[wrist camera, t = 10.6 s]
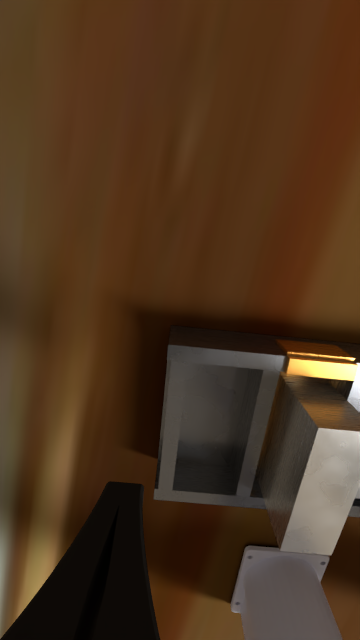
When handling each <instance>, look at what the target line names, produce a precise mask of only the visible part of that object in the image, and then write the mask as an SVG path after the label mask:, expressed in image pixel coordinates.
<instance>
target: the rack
mask: <svg viewBox="0 0 360 640" xmlns="http://www.w3.org/2000/svg"><path fill="white" fill-rule="evenodd" d="M280 371H282V372H285V373H286V374H289V375H299V376H310V377H320V378H325V379H326V380H327V381H328V382H329V383H330V384H331V385H332V386H333V387H334V388H335V389H336V390H337V391H338V392H339V393H340V394H341V395H342V396H343V397H344V398H345V399H346V400H347V401H348V402H349V403H350V404H351V405H352V406H353V407H354V408H355V409H356V410H357V411H358V412H359V413H360V344H354V343H344V342H334V341H324V340H314V339H303V338H293V337H283V336H273V335H263V334H253V333H243V332H233V331H223V330H213V329H203V328H193V327H183V326H173V325H171V329H170V336H169V343H168V353H167V370H166V381H165V391H164V402H163V412H162V422H161V433H160V443H159V454H158V464H157V472H156V481H155V490H154V499H155V500H166V501H178V502H190V503H201V504H213V505H224V506H236V507H247V508H259V509H267V508H266V505H265V502H264V498H263V495H262V492H261V489H260V486H259V482H258V479H257V476H256V469H257V465H258V461H259V457H260V453H261V449H262V444H263V440H264V436H265V432H266V428H267V424H268V420H269V416H270V412H271V407H272V403H273V399H274V395H275V391H276V387H277V383H278V379H279V375H280ZM348 516H352V517H360V487H359V489H358V492H357V494H356V496H355V499H354V501H353V504H352V506H351V509H350V511H349V514H348Z"/></svg>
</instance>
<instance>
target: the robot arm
mask: <svg viewBox="0 0 360 640" xmlns="http://www.w3.org/2000/svg"><path fill="white" fill-rule="evenodd" d="M143 493H144V486H143V485H142V484H133V483H122V482H108V483H107V484H106V486H105V488H104V490H103V492H102V494H101V496H100V498H99V500H98V502H97V503H96V505H95V507H94V509H93V510H92V512H91V514H90V516H89V517H88V519H87V521H86V522H85V524H84V525H83V527H82V528H81V530H80V532H79V533H78V535H77V536H76V538H75V540H74V541H73V543H72V544H71V546H70V547H69V549H68V550H67V552H66V553H65V554H64V556H63V557H62V559H61V560H60V562H59V563H58V565H57V566H56V567H55V569H54V570H53V572H52V573H51V575H50V576H49V577H48V579H47V580H46V582H45V583H44V584H43V586H42V587H41V588H40V590H39V591H38V592H37V594H36V595H35V596H34V598H33V599H32V600H31V602H30V603H29V604H28V605H27V607H26V608H25V609H24V611H23V612H22V613H21V614H20V616H19V617H18V618H17V619H16V621H15V622H14V623H13V624H12V626H11V627H10V628H9V629H8V630H7V632H6V633H5V634H4V635H3V637H2V638H1V639H0V640H160V637H159V632H158V627H157V622H156V617H155V612H154V607H153V601H152V595H151V589H150V583H149V576H148V569H147V562H146V554H145V544H144V534H143V514H142V506H143ZM328 562H329V556H328V555H321V554H309V553H297V552H285V551H280V550H279V548H273V547H261V546H247V547H246V548H245V550H244V554H243V558H242V562H241V566H240V570H239V574H238V577H237V581H236V585H235V589H234V593H233V597H232V601H231V610H232V611H233V612H237V613H241V618H242V625H243V631H244V638H245V640H343V639H342V636H341V634H340V631H339V629H338V626H337V624H336V621H335V619H334V616H333V614H332V611H331V609H330V606H329V604H328V601H327V599H326V596H325V594H324V591H323V589H322V586H321V584H320V582H321V579H322V577H323V574H324V572H325V569H326V567H327V564H328Z"/></svg>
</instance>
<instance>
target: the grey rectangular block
mask: <svg viewBox="0 0 360 640" xmlns="http://www.w3.org/2000/svg"><path fill="white" fill-rule="evenodd" d="M256 476H257V479H258V482H259V486H260V489H261V492H262V495H263V498H264V502H265V505H266V508H267V511H268V515H269V518H270V521H271V524H272V528H273V531H274V534H275V537H276V540H277V544H278V547H279V550H280V551H285V552H297V553H309V554H321V555H332V553H333V551H334V548H335V546H336V543H337V541H338V538H339V536H340V533H341V531H342V528H343V526H344V524H345V521H346V519H347V516H348V514H349V511H350V509H351V506H352V504H353V501H354V499H355V496H356V494H357V492H358V489H359V487H360V413H359V412H358V411H357V410H356V409H355V408H354V407H353V406H352V405H351V404H350V403H349V402H348V401H347V400H346V399H345V398H344V397H343V396H342V395H341V394H340V393H339V392H338V391H337V390H336V389H335V388H334V387H333V386H332V385H331V384H330V383H329V382H328V381H327V380H326V379H325V378H320V377H310V376H299V375H289V374H286V373H285V372H282V371H280V375H279V379H278V383H277V387H276V391H275V395H274V399H273V403H272V407H271V412H270V416H269V420H268V424H267V428H266V432H265V436H264V440H263V444H262V449H261V453H260V457H259V461H258V465H257V469H256Z"/></svg>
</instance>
